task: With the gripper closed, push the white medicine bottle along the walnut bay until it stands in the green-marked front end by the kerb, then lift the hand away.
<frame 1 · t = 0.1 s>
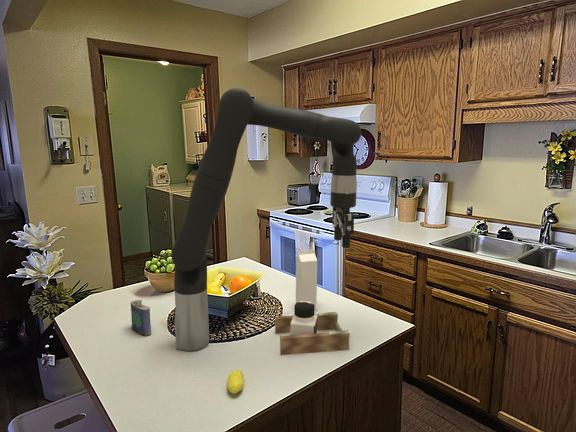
hand: (341, 243, 117), 29 cm above the kitchen island, tool pointing down, fingers open, 8 cm apart
lemon: (235, 388, 95), on the kitchen island
milk: (305, 309, 140), on the kitchen island
flask: (141, 331, 123), on the kitchen island
medicine bottle: (303, 341, 118), resting in bay
bay: (310, 340, 118), on the kitchen island
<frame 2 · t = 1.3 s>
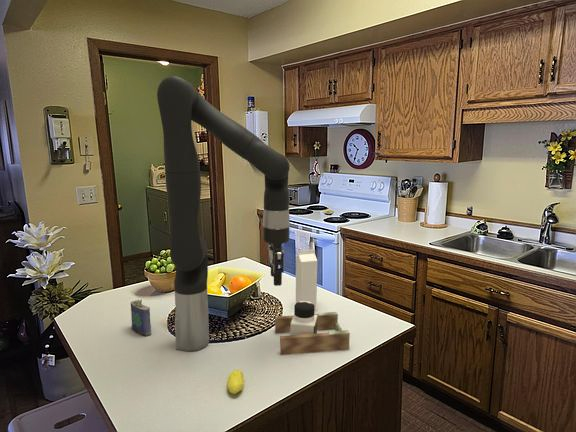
hand: (276, 280, 113), 20 cm above the kitchen island, tool pointing down, fingers open, 7 cm apart
nothing on the kitchen island moved.
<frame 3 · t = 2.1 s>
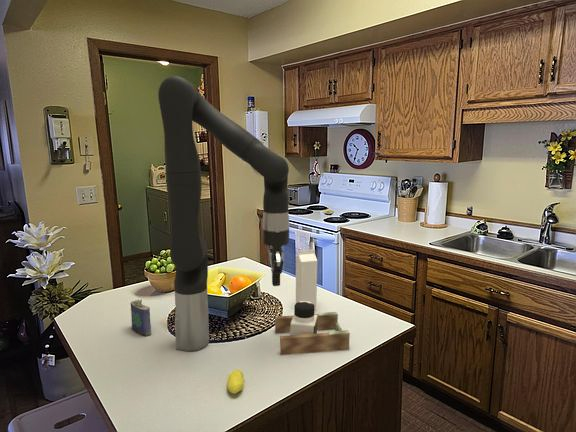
hand: (276, 285, 113), 18 cm above the kitchen island, tool pointing down, fingers closed
nothing on the kitchen island moved.
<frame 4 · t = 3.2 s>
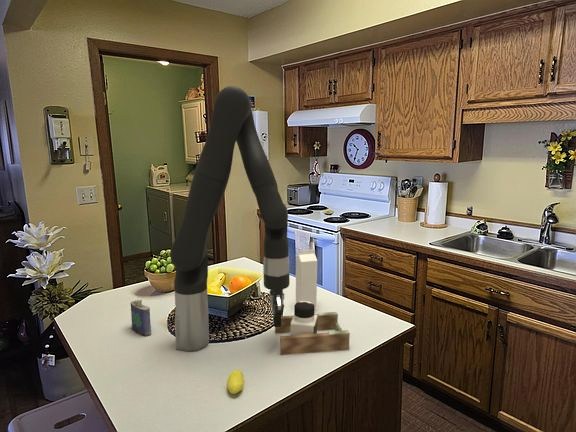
hand: (277, 325, 116), 5 cm above the kitchen island, tool pointing down, fingers closed
nothing on the kitchen island moved.
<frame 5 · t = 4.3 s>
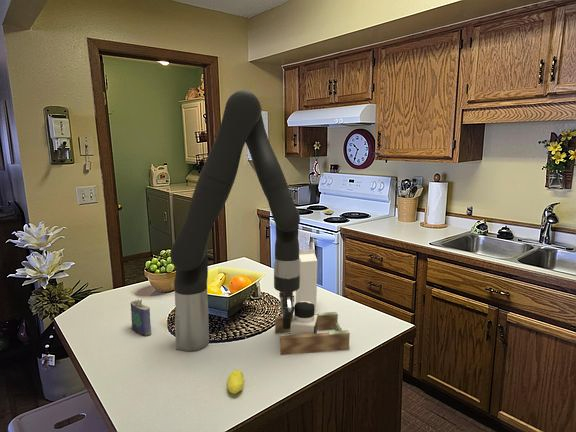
hand: (286, 327, 116), 5 cm above the kitchen island, tool pointing down, fingers closed
medicine bottle: (303, 341, 118), resting in bay, touching gripper
everything else where it was.
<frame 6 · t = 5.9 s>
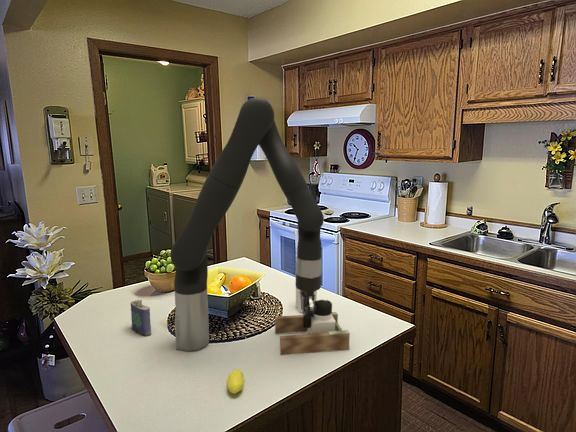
hand: (306, 326, 117), 4 cm above the kitchen island, tool pointing down, fingers closed
medicine bottle: (320, 338, 119), resting in bay, touching gripper
everything else where it was.
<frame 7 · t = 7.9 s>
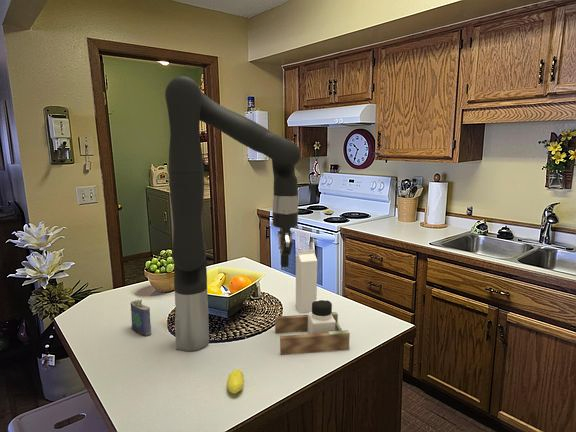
hand: (284, 266, 118), 22 cm above the kitchen island, tool pointing down, fingers closed
medicine bottle: (321, 338, 119), resting in bay
everything else where it was.
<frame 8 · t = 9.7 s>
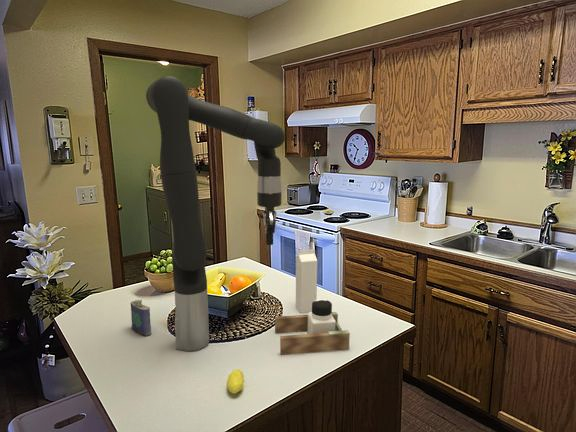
hand: (269, 244, 124), 27 cm above the kitchen island, tool pointing down, fingers closed
nothing on the kitchen island moved.
at the end: medicine bottle inside the target area (1.6 cm from its centre), resting in bay; medicine bottle tilted 0°; medicine bottle moved 5.5 cm from its start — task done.
